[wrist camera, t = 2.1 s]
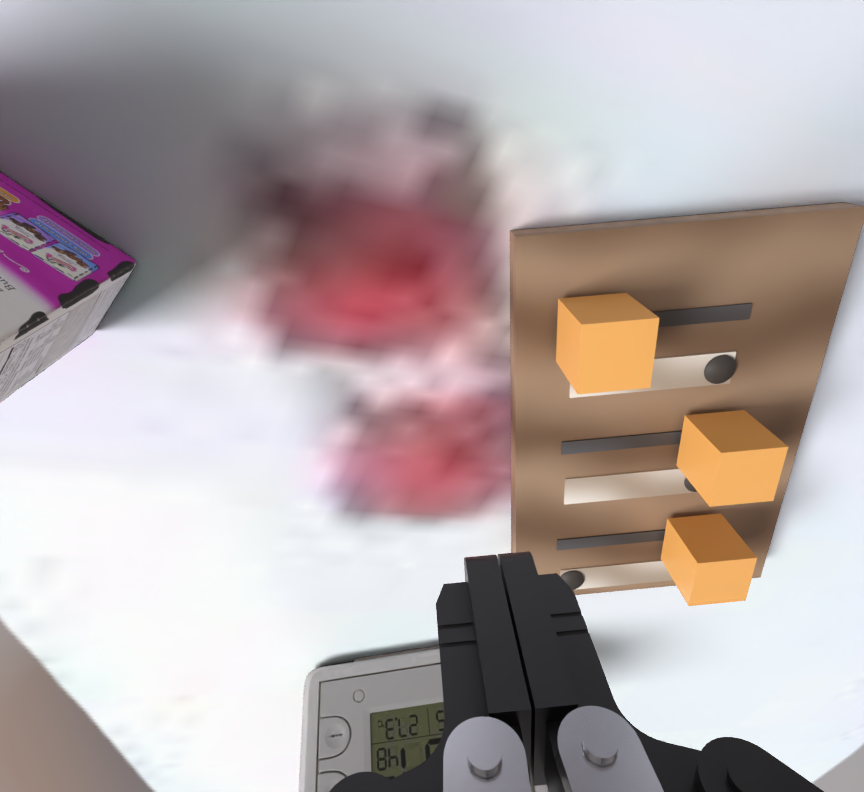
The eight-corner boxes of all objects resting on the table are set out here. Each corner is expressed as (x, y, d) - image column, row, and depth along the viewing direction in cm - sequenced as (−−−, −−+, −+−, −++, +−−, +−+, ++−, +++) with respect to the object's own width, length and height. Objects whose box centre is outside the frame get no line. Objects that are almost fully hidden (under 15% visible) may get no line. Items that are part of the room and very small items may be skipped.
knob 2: (667, 518, 31) (697, 563, 28) (721, 513, 31) (757, 557, 28) (660, 558, 33) (688, 606, 30) (711, 553, 33) (745, 600, 30)
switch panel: (509, 230, 25) (517, 237, 24) (843, 202, 25) (871, 207, 24) (511, 582, 36) (516, 603, 34) (746, 560, 36) (762, 579, 34)
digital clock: (533, 627, 38) (577, 794, 29) (519, 705, 42) (553, 874, 33) (303, 631, 37) (270, 806, 28) (311, 711, 41) (285, 888, 32)
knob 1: (558, 298, 25) (581, 324, 22) (626, 292, 25) (659, 317, 22) (555, 361, 26) (577, 394, 23) (620, 355, 26) (650, 387, 23)
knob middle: (684, 415, 28) (721, 452, 25) (744, 409, 28) (788, 446, 25) (676, 465, 30) (709, 506, 26) (733, 460, 30) (773, 500, 27)
